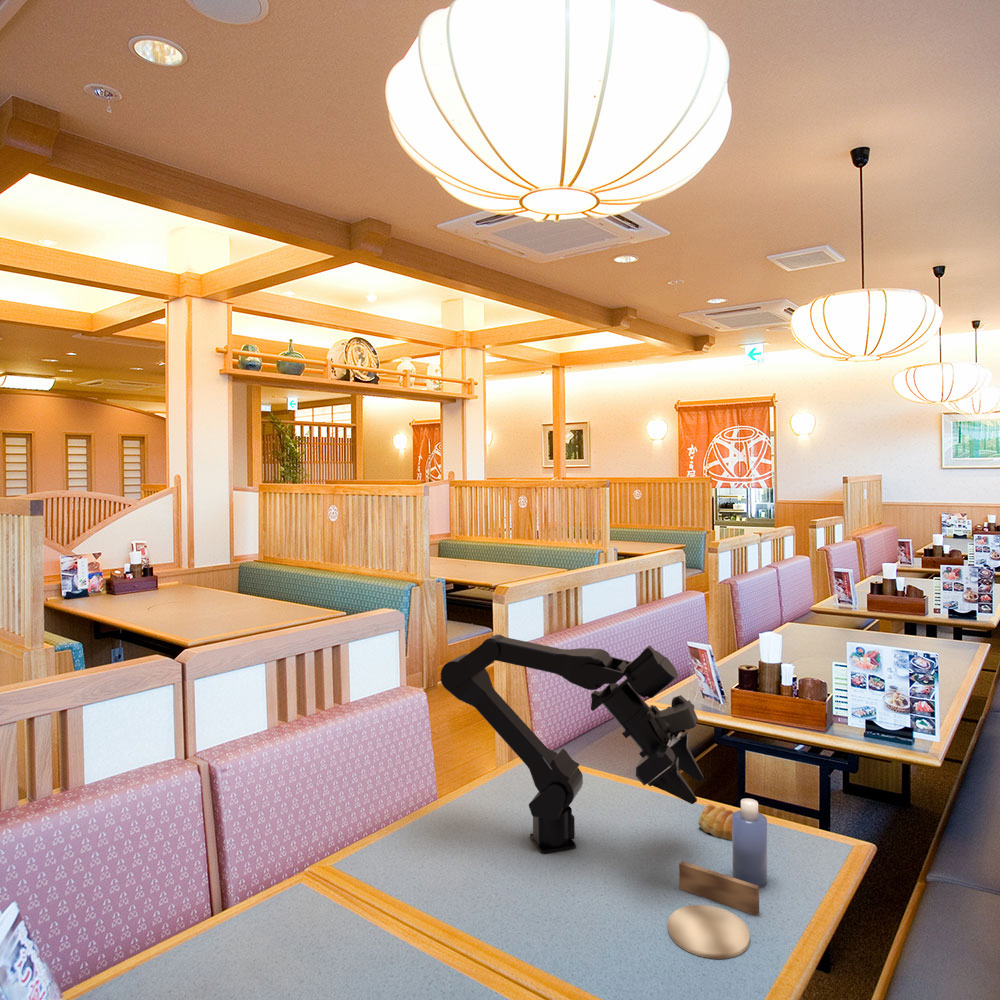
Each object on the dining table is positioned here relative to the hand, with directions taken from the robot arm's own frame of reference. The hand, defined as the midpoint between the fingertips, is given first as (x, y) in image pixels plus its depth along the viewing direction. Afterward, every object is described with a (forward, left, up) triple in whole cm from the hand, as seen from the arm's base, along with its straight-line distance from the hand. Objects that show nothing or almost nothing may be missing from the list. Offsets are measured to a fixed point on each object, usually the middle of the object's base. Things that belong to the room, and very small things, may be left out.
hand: (698, 790), depth 119 cm
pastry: (+12, +10, -13) cm, 20 cm away
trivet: (-8, -15, -13) cm, 22 cm away
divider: (-2, -9, -13) cm, 16 cm away
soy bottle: (+6, -5, -13) cm, 15 cm away
